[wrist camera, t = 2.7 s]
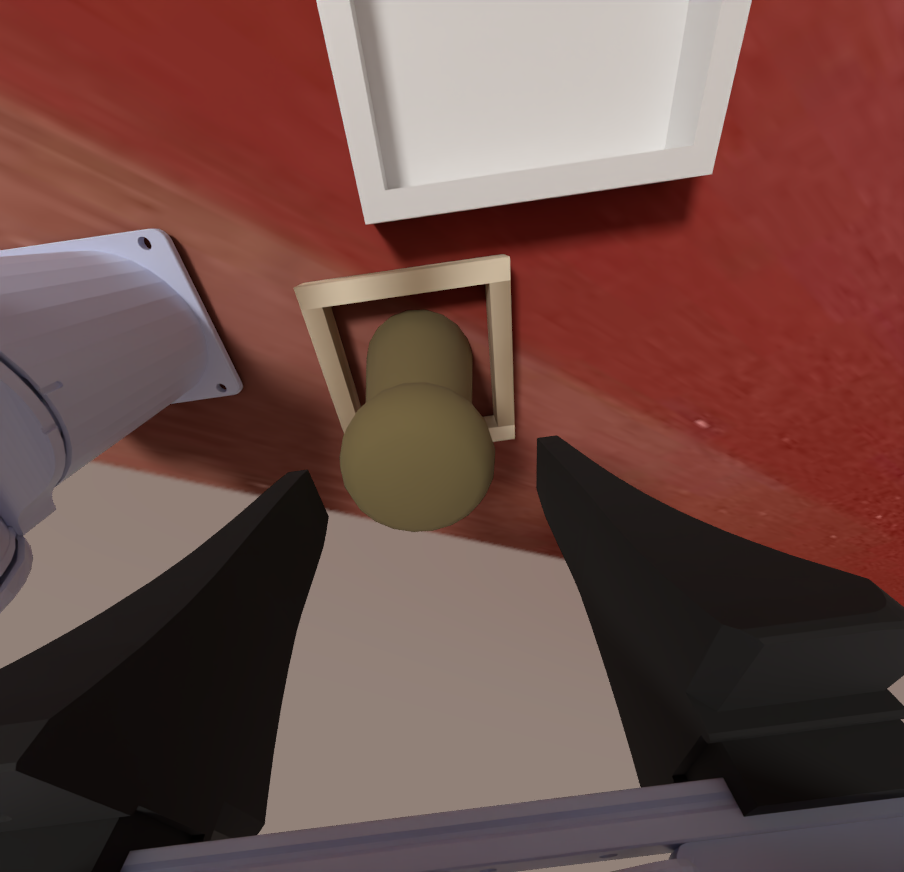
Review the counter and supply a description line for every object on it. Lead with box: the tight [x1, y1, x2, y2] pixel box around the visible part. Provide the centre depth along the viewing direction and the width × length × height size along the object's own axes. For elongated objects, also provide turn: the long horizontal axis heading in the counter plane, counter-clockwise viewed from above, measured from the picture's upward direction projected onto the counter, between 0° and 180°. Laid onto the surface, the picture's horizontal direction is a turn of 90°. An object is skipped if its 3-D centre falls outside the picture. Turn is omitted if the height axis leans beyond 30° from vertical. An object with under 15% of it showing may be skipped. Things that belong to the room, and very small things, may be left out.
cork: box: [340, 310, 495, 532], centre depth 15 cm, size 6×6×11 cm
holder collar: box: [294, 254, 515, 442], centre depth 19 cm, size 10×10×2 cm
